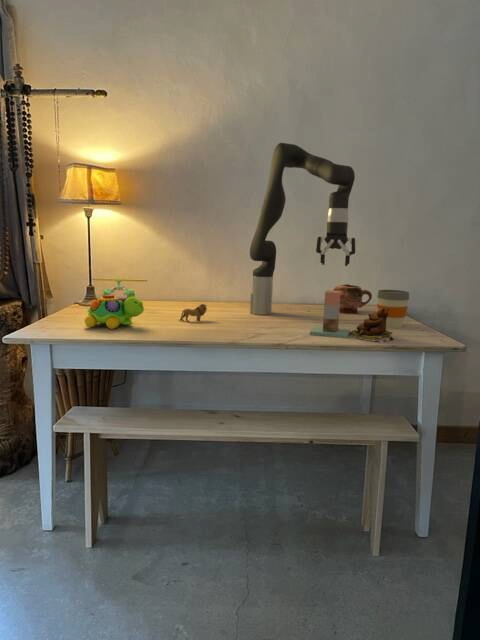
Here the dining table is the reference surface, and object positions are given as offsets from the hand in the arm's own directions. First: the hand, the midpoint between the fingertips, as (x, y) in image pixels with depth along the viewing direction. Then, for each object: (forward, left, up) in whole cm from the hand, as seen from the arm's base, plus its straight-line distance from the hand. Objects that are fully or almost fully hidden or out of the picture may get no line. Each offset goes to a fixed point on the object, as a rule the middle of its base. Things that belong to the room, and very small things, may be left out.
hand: (334, 265), depth 181 cm
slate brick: (0, 0, -20) cm, 20 cm away
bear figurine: (+16, -1, -27) cm, 31 cm away
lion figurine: (-57, -1, -26) cm, 63 cm away
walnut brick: (0, 0, -25) cm, 25 cm away
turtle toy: (-82, -20, -26) cm, 88 cm away
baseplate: (0, 0, -26) cm, 26 cm away
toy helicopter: (-99, +11, -26) cm, 103 cm away
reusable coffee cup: (+22, +24, -26) cm, 42 cm away
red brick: (0, 0, -15) cm, 15 cm away
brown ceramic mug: (+3, +50, -26) cm, 56 cm away
